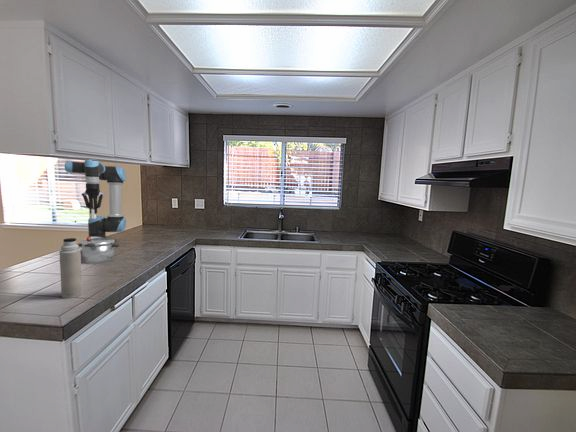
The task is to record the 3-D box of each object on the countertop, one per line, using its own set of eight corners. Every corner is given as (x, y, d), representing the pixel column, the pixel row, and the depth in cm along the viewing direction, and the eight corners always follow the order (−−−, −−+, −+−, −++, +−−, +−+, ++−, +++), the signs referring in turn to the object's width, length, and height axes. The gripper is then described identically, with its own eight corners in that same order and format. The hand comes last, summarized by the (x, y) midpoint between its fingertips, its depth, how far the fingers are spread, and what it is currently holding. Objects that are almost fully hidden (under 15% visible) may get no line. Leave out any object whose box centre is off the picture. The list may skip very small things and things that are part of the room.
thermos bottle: (58, 298, 136) (55, 240, 133) (66, 292, 144) (64, 237, 140) (77, 298, 138) (75, 240, 135) (85, 291, 146) (82, 237, 142)
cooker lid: (89, 239, 204) (89, 234, 203) (119, 240, 207) (119, 235, 207) (71, 247, 181) (71, 241, 181) (104, 247, 185) (104, 242, 184)
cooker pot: (85, 256, 204) (84, 240, 203) (123, 256, 209) (123, 240, 207) (71, 264, 187) (70, 245, 185) (113, 264, 191) (112, 246, 190)
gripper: (78, 182, 187) (80, 218, 190) (100, 183, 189) (102, 219, 193) (84, 182, 194) (85, 217, 197) (105, 183, 197) (106, 217, 200)
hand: (93, 218), depth 195 cm, fingers closed
